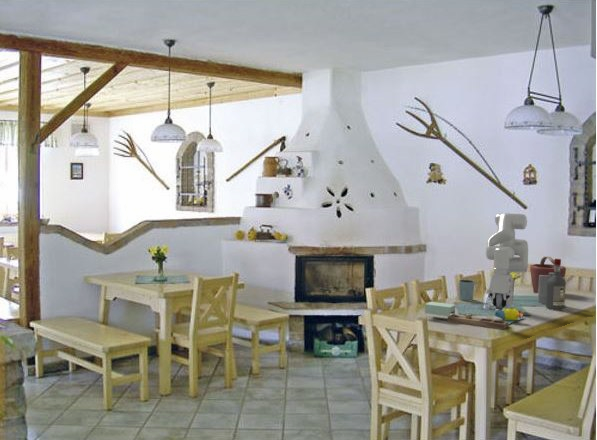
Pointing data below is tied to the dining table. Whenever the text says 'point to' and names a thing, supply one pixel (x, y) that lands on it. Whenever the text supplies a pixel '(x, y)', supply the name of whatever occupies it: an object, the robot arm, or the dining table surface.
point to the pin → (499, 301)
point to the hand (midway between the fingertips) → (499, 306)
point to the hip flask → (543, 287)
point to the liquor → (556, 289)
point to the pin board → (478, 321)
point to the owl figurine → (509, 314)
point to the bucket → (543, 271)
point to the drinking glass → (466, 290)
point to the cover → (439, 308)
